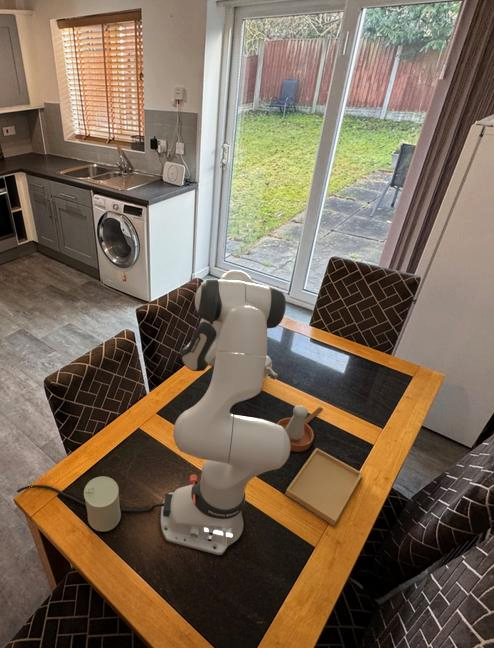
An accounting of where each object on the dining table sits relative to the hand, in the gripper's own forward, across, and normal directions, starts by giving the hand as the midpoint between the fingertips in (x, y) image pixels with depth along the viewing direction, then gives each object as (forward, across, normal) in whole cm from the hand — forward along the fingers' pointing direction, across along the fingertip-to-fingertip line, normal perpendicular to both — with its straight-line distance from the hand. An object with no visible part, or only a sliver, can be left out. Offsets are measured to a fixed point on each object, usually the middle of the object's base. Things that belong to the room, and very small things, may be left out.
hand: (268, 384), depth 132 cm
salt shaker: (+12, 0, +16) cm, 20 cm away
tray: (+28, -10, +16) cm, 34 cm away
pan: (+12, 0, +16) cm, 20 cm away
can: (-11, -62, +16) cm, 65 cm away
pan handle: (+13, +11, +14) cm, 22 cm away
